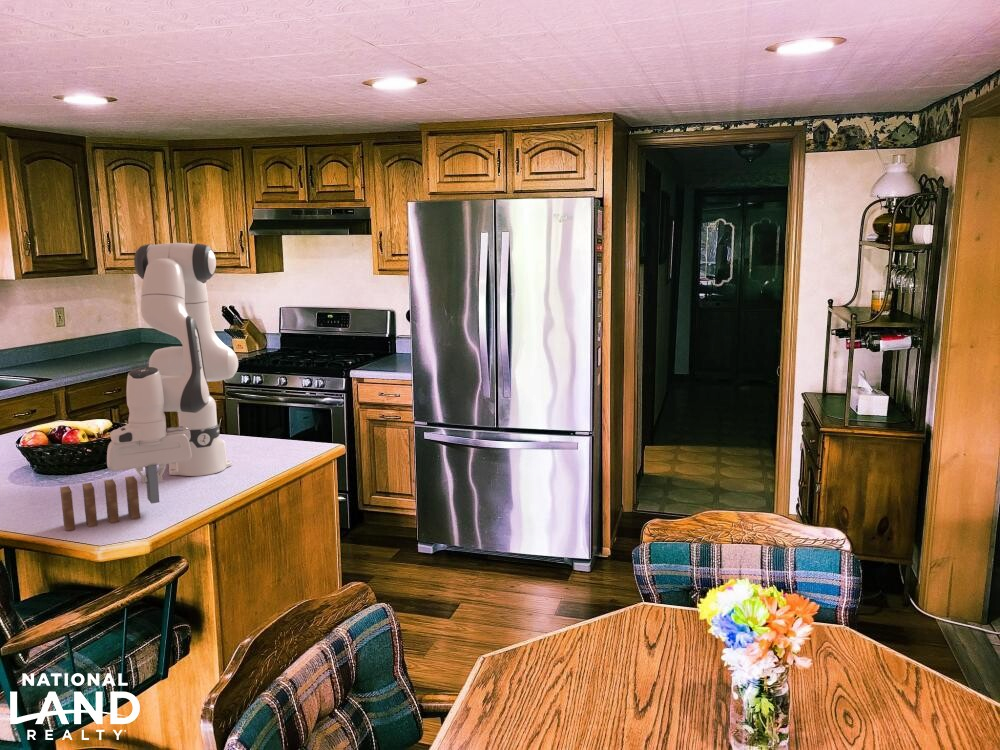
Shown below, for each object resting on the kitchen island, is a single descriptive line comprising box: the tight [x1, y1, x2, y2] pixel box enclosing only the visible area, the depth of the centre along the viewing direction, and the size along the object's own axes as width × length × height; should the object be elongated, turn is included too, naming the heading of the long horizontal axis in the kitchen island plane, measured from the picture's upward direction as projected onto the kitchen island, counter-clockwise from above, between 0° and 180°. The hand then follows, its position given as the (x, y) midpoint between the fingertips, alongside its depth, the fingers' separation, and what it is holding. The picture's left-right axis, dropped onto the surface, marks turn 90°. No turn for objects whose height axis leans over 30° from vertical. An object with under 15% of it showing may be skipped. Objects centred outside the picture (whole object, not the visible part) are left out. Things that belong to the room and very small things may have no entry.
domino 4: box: [124, 475, 141, 520], centre depth 207 cm, size 2×5×10 cm, turn 34°
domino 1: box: [59, 485, 76, 532], centre depth 199 cm, size 2×5×10 cm, turn 34°
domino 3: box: [103, 478, 120, 524], centre depth 205 cm, size 2×5×10 cm, turn 34°
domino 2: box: [81, 482, 98, 528], centre depth 202 cm, size 2×5×10 cm, turn 34°
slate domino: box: [144, 465, 160, 504], centre depth 209 cm, size 2×5×10 cm, turn 34°
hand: (151, 481), depth 209 cm, fingers closed on slate domino, 2 cm apart
